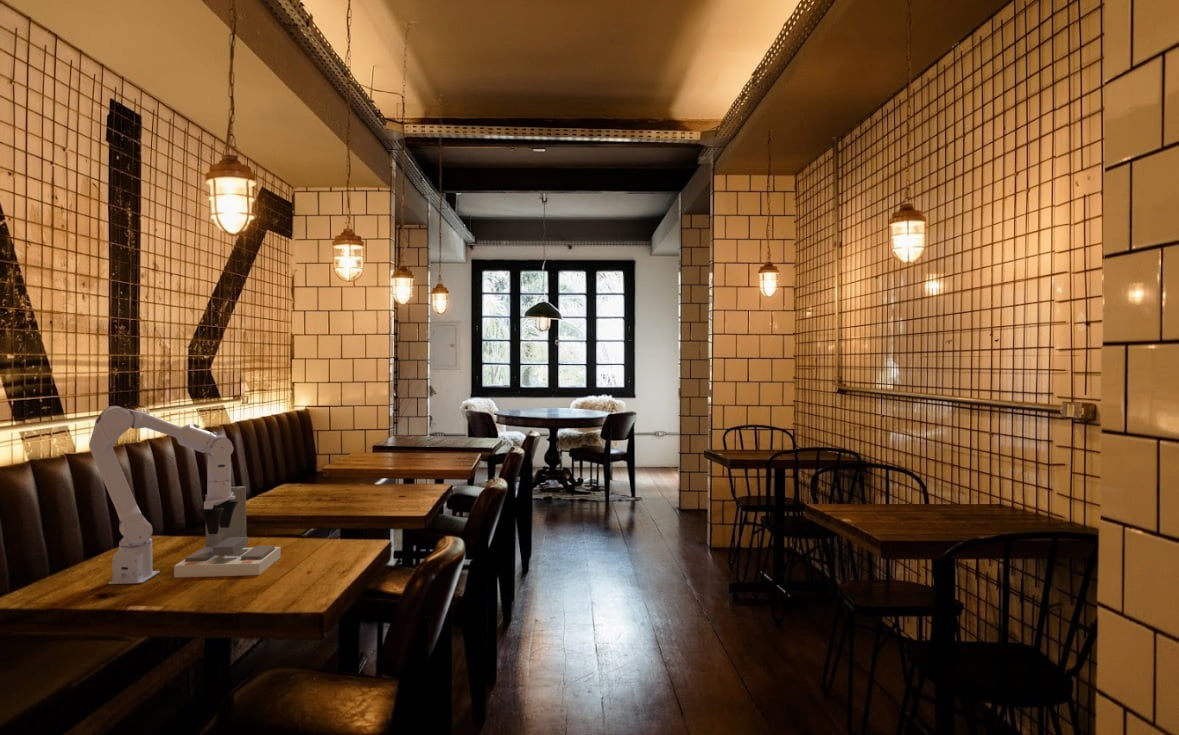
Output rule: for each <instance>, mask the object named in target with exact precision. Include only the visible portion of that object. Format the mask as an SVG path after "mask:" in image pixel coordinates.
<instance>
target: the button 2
mask: <svg viewBox="0 0 1179 735" xmlns="http://www.w3.org/2000/svg"><path fill="white" fill-rule="evenodd" d="M274 547H275V545H255V546H254V547H251V548H252V549H251V550H250V551H248V552H247V553H245V554H244V555H242V556H241V560H262V559H263V558H264V557H266V556H267V555H268V554H269V553H271V552H272V551H273V550H275V549H274Z"/></svg>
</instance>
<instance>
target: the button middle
mask: <svg viewBox="0 0 1179 735" xmlns="http://www.w3.org/2000/svg"><path fill="white" fill-rule="evenodd" d="M248 545H249V536H246V537H229V538H227V539H226V540H224V541H223V542H221V543H219V544H218V545H216V546H214V547H213V556H220V555H234V554H235V553H237V552H238V551H240V550H241V549H243V548H247V546H248Z"/></svg>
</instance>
